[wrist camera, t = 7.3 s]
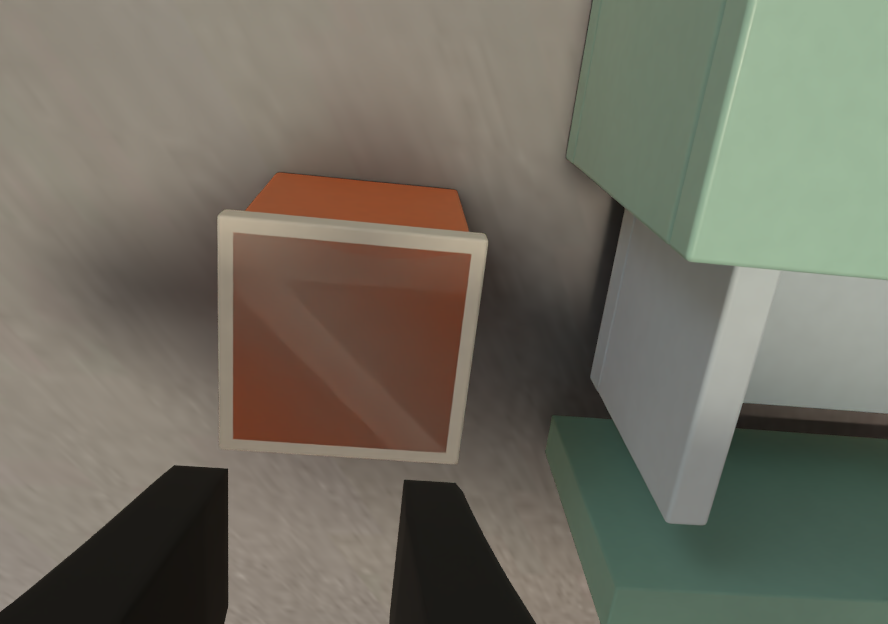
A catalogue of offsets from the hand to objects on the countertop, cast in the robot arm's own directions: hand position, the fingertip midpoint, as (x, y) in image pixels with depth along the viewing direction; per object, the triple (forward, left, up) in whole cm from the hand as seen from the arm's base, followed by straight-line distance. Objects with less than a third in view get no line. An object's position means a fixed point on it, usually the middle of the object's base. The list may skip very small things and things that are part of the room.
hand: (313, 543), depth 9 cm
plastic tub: (0, 0, -10) cm, 10 cm away
